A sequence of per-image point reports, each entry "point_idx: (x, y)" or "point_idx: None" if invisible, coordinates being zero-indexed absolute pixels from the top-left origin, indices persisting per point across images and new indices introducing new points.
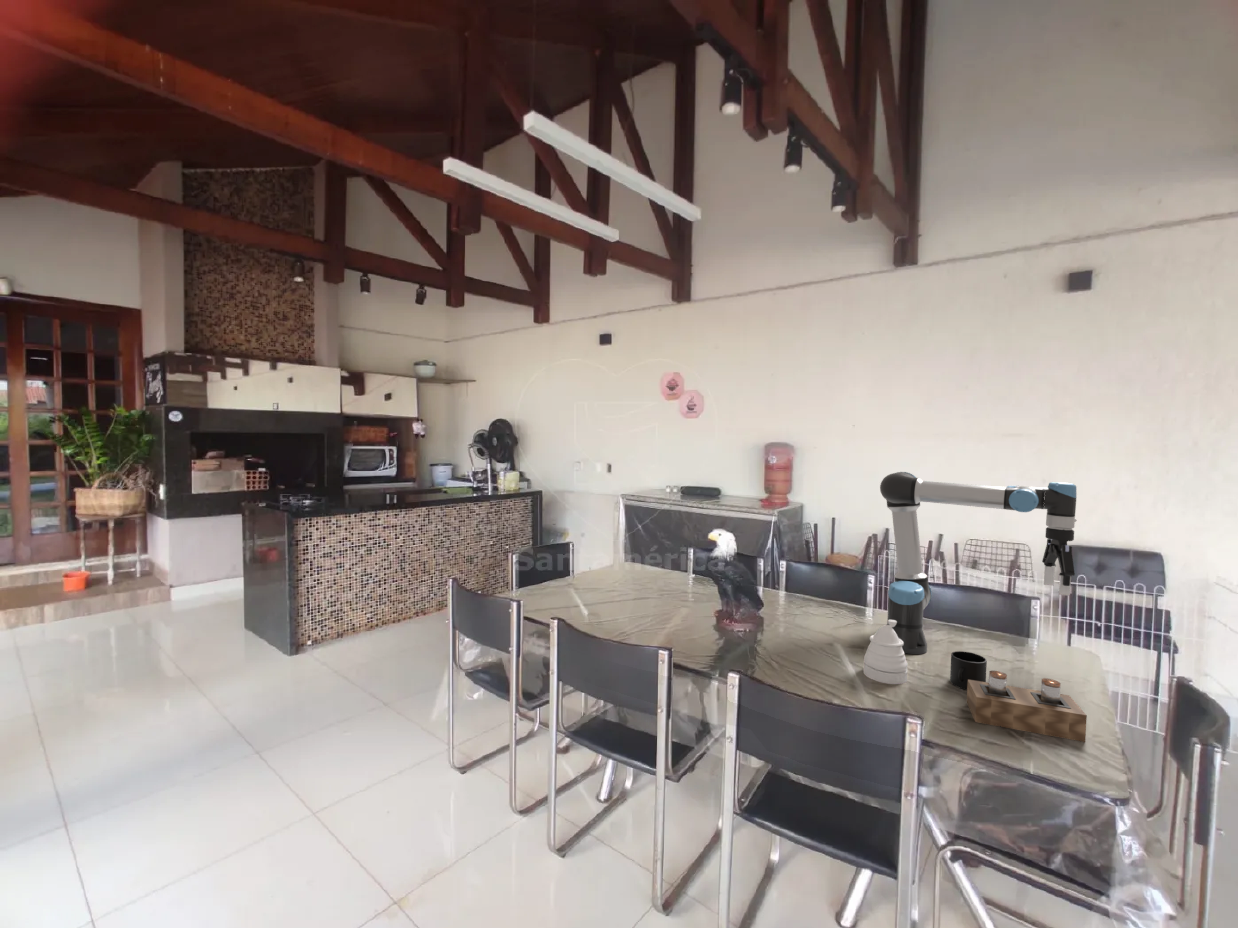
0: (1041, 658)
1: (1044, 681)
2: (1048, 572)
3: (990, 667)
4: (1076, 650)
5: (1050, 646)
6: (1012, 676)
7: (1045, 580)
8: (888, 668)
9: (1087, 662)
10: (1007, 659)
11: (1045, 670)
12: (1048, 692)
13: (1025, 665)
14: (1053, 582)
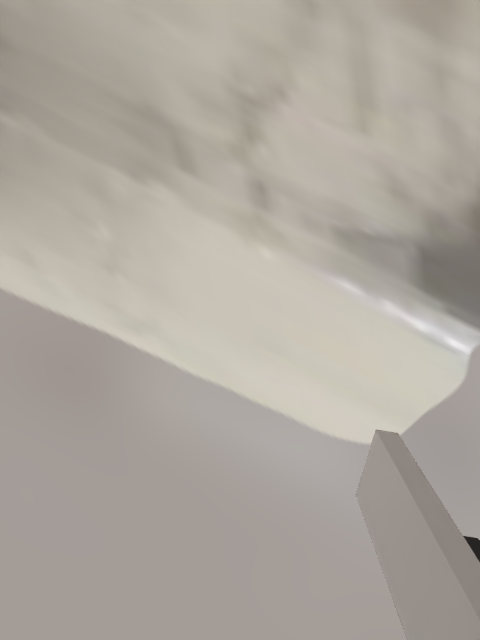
0: (298, 285)
1: None
2: (426, 577)
3: (155, 35)
4: None
5: (424, 375)
6: (87, 87)
7: (390, 465)
8: None
9: (291, 408)
10: (261, 151)
11: (184, 240)
12: None
13: (214, 192)
14: (365, 515)
